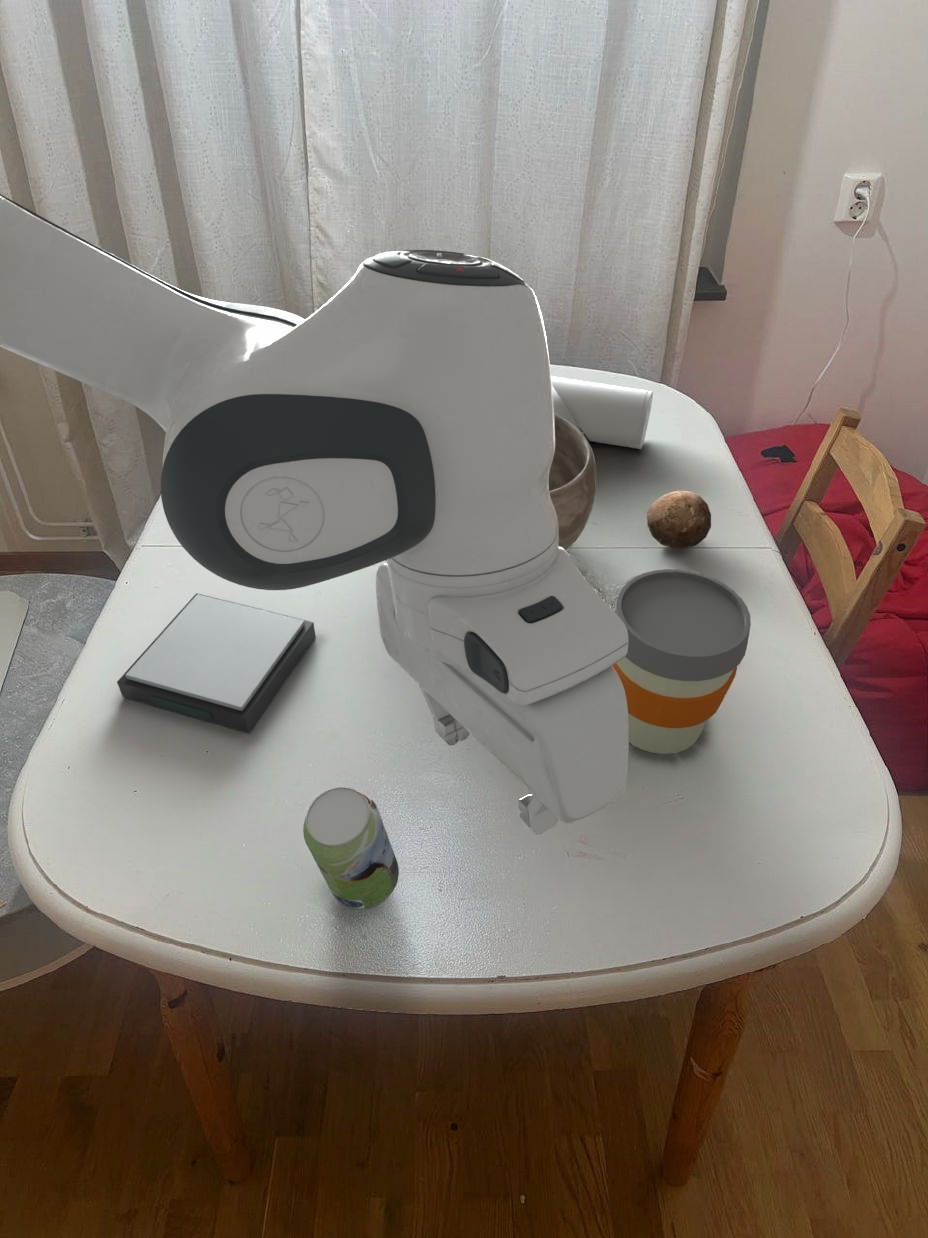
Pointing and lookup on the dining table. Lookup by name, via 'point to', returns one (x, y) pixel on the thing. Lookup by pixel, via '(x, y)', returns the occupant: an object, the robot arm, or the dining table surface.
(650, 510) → the brown potato
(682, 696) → the reusable coffee cup
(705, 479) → the dining table surface
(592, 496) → the bowl
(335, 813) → the beverage can
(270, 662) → the kitchen scale
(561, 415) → the elbow connector
